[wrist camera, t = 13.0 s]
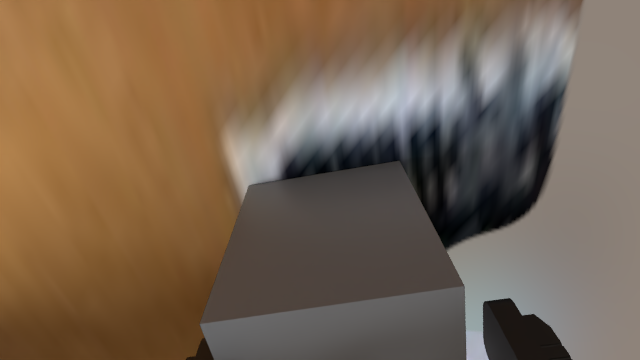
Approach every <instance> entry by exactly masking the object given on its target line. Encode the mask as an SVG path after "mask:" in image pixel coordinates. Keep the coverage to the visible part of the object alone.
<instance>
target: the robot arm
mask: <svg viewBox="0 0 640 360" xmlns="http://www.w3.org/2000/svg"><path fill="white" fill-rule="evenodd" d="M483 338H484V345H485V349H486V352H487V355H488V358H489V360H572V359H571V357H570V355H569V353H568V352H567V350H566V349H565V348H564V346H562V344H561V342H560V340H559V339H558V337H557V336H556V334H555V333H554V332H553V330H552V328H551V327H550V326H549V325H547V324H546V323H545V322H543V321H542V320H541V319H539V318H538V317H537V316H536V315H534V314H531V315H524V316H522V315H521V313H520V312H519V310H518V308H517V307H516V305H515V303H514V302H513V301H512V300H511V299H510V298H508V299H500V300H493V301H485V302H484V304H483ZM186 360H214V358H213V356H212V353H211V351H210V349H209V346H208V344H207V341H206V339H205V338H203V339H202V340H201V343H200V345H199V348H198V351H197V354H196V356H195V357H188V358H187V359H186Z"/></svg>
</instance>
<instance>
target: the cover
mask: <svg viewBox="0 0 640 360" xmlns="http://www.w3.org/2000/svg"><path fill="white" fill-rule="evenodd" d="M464 289H465V287H464V284H463V283H462V280H461V279H460V277H459V275H458V273H457V271H456V269H455V267H454V265H453V263H452V261H451V259H450V257H449V255H448V253H447V251H446V249H445V248H444V246H443V244H442V242H441V240H440V238H439V236H438V234H437V232H436V230H435V228H434V226H433V224H432V222H431V220H430V219H429V217H428V215H427V213H426V211H425V209H424V207H423V205H422V203H421V201H420V199H419V197H418V195H417V193H416V191H415V190H414V188H413V186H412V184H411V182H410V180H409V178H408V176H407V174H406V172H405V170H404V168H403V166H402V164H401V163H400V161H395V162H389V163H383V164H377V165H371V166H365V167H359V168H353V169H347V170H341V171H335V172H329V173H323V174H316V175H310V176H304V177H298V178H292V179H286V180H280V181H274V182H268V183H262V184H256V185H250V186H249V187H248V189H247V192H246V195H245V198H244V201H243V204H242V206H241V209H240V212H239V215H238V218H237V220H236V223H235V226H234V229H233V232H232V234H231V237H230V240H229V243H228V246H227V248H226V251H225V254H224V257H223V260H222V262H221V265H220V268H219V271H218V274H217V277H216V279H215V282H214V285H213V288H212V291H211V293H210V296H209V299H208V302H207V305H206V307H205V310H204V313H203V316H202V319H201V321H200V327H201V329H202V331H203V334H204V336H205V339H206V341H207V344H208V346H209V349H210V351H211V353H212V356H213V358H214V360H466V326H465V290H464Z"/></svg>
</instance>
